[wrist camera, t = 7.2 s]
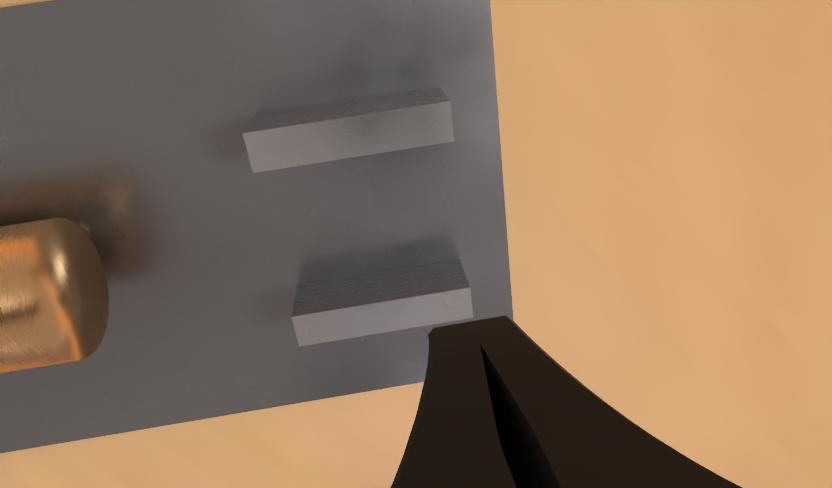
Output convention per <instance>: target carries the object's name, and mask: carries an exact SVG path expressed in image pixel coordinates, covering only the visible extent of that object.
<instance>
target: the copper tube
mask: <svg viewBox="0 0 832 488" xmlns="http://www.w3.org/2000/svg"><path fill="white" fill-rule="evenodd" d="M108 315H109V293H108V285H107V279H106V274H105V270H104V267H103V264H102V261H101V258H100V256H99V254H98V251H97V249H96V247H95V246H94V244H93V242H92V241H91V239H90V238H89V236H88V235H87V234H86V233H85V231H84V230H83V229H82V228H81V227H80V226H78V225H77V224H76V223H74V222H72V221H71V220H68V219H65V218H52V219H46V220H39V221H33V222H27V223H20V224H14V225H8V226H2V227H0V373H4V372H10V371H17V370H23V369H29V368H35V367H41V366H47V365H53V364H59V363H65V362H71V361H77V360H82V359H85V358H87V357H89V356H90V355H92V354H93V353H94V352H95V351H96V349H97V348H98V347H99V345H100V343H101V341H102V339H103V337H104V334H105V331H106V327H107V322H108Z"/></svg>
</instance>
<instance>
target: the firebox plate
mask: <svg viewBox="0 0 832 488" xmlns="http://www.w3.org/2000/svg"><path fill="white" fill-rule="evenodd" d="M52 218H65V219H68V220H71V221H72V222H74V223H76V224H77V225H78V226H80V227H81V228H82V229H83V230H84V231H85V233H86V234H87V235H88V236H89V238H90V239H91V241H92V242H93V244H94V246H95V247H96V249H97V251H98V254H99V256H100V258H101V261H102V264H103V267H104V270H105V274H106V279H107V285H108V293H109V315H108V322H107V327H106V331H105V334H104V337H103V339H102V341H101V343H100V345H99V347H98V348H97V349H96V351H95V352H94V353H93V354H92V355H90V356H89V357H87V358H85V359H82V360H77V361H71V362H65V363H59V364H53V365H47V366H41V367H35V368H29V369H23V370H17V371H10V372H4V373H0V453H5V452H11V451H16V450H22V449H28V448H34V447H40V446H46V445H52V444H58V443H64V442H70V441H76V440H82V439H87V438H93V437H99V436H105V435H111V434H117V433H123V432H129V431H135V430H141V429H147V428H153V427H159V426H164V425H170V424H176V423H182V422H188V421H194V420H200V419H206V418H212V417H218V416H224V415H230V414H235V413H241V412H247V411H253V410H259V409H265V408H271V407H277V406H283V405H289V404H295V403H301V402H306V401H312V400H318V399H324V398H330V397H336V396H342V395H348V394H354V393H360V392H366V391H372V390H377V389H383V388H389V387H395V386H401V385H407V384H413V383H419V382H424V381H425V376H426V370H427V363H428V354H429V339H428V334H429V333H430V331H431V330H432V329H433V328H435V327H440V326H446V325H452V324H458V323H464V322H469V321H475V320H481V319H487V318H493V317H499V316H504V315H506V316H507V317H509V318H510V319H511V320H513V310H512V296H511V283H510V269H509V255H508V242H507V228H506V214H505V201H504V187H503V174H502V160H501V146H500V133H499V119H498V105H497V92H496V78H495V64H494V51H493V37H492V23H491V10H490V0H53V1H46V2H40V3H33V4H26V5H19V6H13V7H6V8H0V227H2V226H8V225H14V224H20V223H27V222H33V221H39V220H46V219H52Z"/></svg>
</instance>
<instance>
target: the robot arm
mask: <svg viewBox="0 0 832 488" xmlns="http://www.w3.org/2000/svg"><path fill="white" fill-rule="evenodd" d="M428 339H429V354H428V363H427V370H426V376H425V381H424V386H423V390H422V394H421V398H420V402H419V407H418V411H417V414H416V418H415V421H414V424H413V427H412V430H411V434H410V437H409V440H408V443H407V446H406V449H405V452H404V455H403V458H402V461H401V463H400V466H399V468H398V471H397V474H396V476H395V479H394V481H393V484H392V486H391V488H742V487H740V486H738V485H736V484H734V483H732V482H730V481H728V480H726V479H724V478H723V477H721V476H719V475H717V474H715V473H713V472H712V471H710V470H708V469H706V468H705V467H703V466H701V465H699V464H697V463H696V462H694V461H692V460H691V459H689V458H687V457H686V456H684V455H682V454H681V453H679V452H678V451H676V450H674V449H673V448H671V447H670V446H668V445H666V444H665V443H663V442H661V441H660V440H658V439H657V438H655V437H653V436H652V435H650V434H649V433H647V432H646V431H645V430H643V429H642V428H640V427H639V426H637V425H636V424H634V423H633V422H632V421H630V420H629V419H627V418H626V417H625V416H623V415H622V414H621V413H619V412H618V411H617V410H615V409H614V408H612V407H611V406H610V405H608V404H607V403H606V402H604V401H603V400H602V399H601V398H599V397H598V396H597V395H595V394H594V393H593V392H592V391H590V390H589V389H588V388H587V387H585V386H584V385H583V384H582V383H581V382H579V381H578V380H577V379H576V378H575V377H573V376H572V375H571V374H570V373H569V372H567V371H566V370H565V369H564V368H563V367H561V366H560V365H559V364H558V363H557V362H556V361H555V360H553V359H552V358H551V357H550V356H549V355H548V354H547V353H546V352H545V351H544V350H542V349H541V348H540V347H539V346H538V345H537V344H536V343H535V342H534V341H533V340H532V339H531V338H530V337H529V336H528V335H527V334H526V333H525V332H524V331H523V330H522V329H521V328H520V327H519V326H518V325H517V324H516V323H515V322H514V321H513V320H511V319H510V318H509V317H507V316H506V315H504V316H499V317H493V318H487V319H481V320H475V321H469V322H464V323H458V324H452V325H446V326H440V327H435V328H433V329H432V330H431V331H430V333H429V334H428Z"/></svg>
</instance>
